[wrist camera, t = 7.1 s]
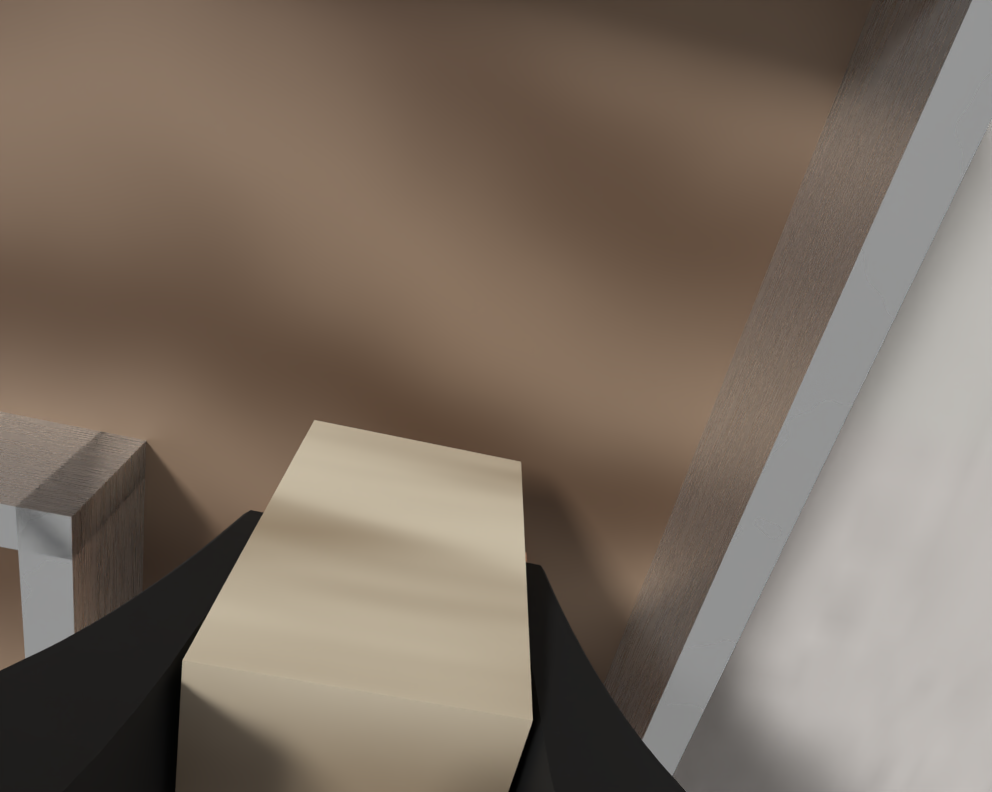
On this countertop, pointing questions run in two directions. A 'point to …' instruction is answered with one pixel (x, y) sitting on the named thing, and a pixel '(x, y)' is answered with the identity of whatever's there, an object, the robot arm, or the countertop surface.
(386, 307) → the walnut board
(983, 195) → the countertop surface
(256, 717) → the maple block
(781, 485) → the channel walls
